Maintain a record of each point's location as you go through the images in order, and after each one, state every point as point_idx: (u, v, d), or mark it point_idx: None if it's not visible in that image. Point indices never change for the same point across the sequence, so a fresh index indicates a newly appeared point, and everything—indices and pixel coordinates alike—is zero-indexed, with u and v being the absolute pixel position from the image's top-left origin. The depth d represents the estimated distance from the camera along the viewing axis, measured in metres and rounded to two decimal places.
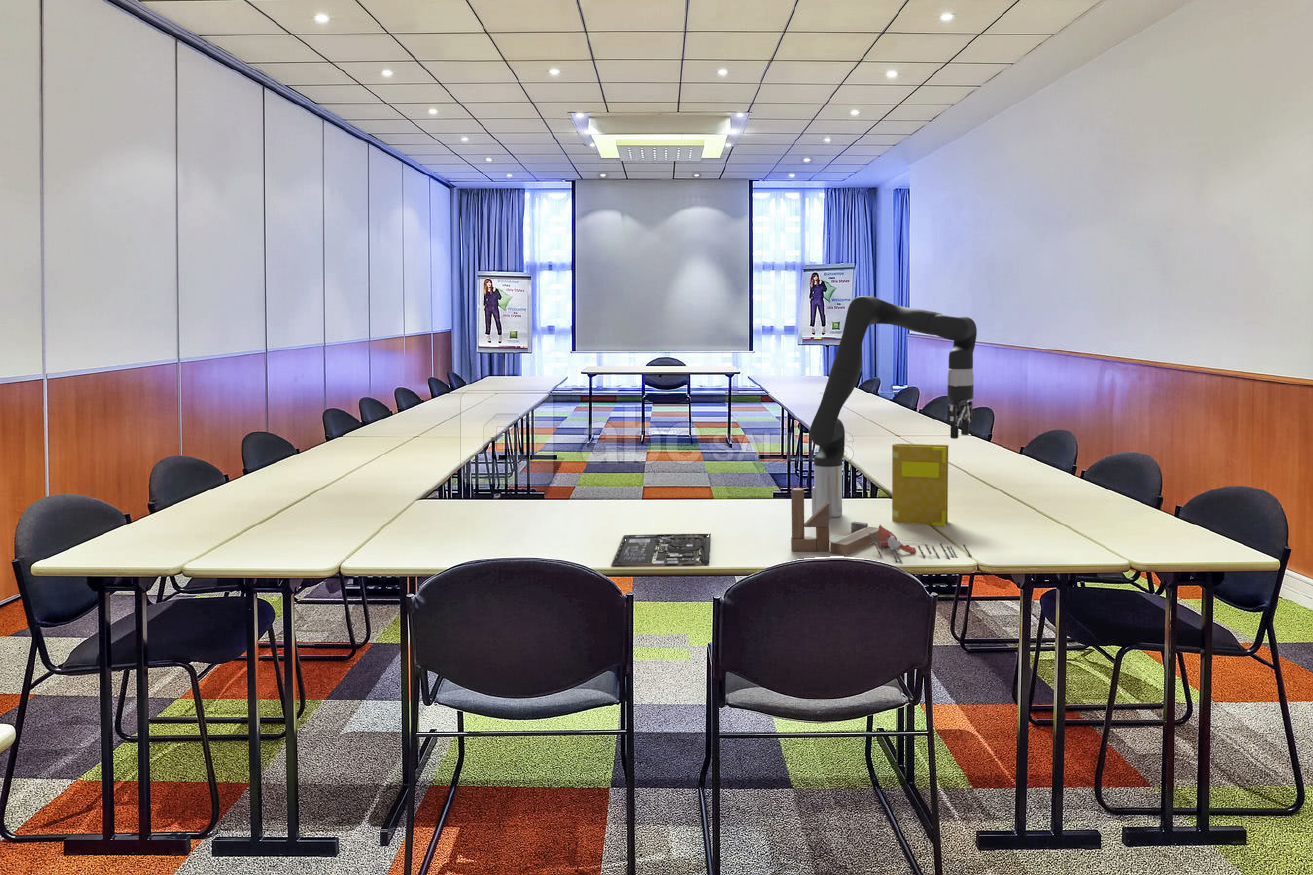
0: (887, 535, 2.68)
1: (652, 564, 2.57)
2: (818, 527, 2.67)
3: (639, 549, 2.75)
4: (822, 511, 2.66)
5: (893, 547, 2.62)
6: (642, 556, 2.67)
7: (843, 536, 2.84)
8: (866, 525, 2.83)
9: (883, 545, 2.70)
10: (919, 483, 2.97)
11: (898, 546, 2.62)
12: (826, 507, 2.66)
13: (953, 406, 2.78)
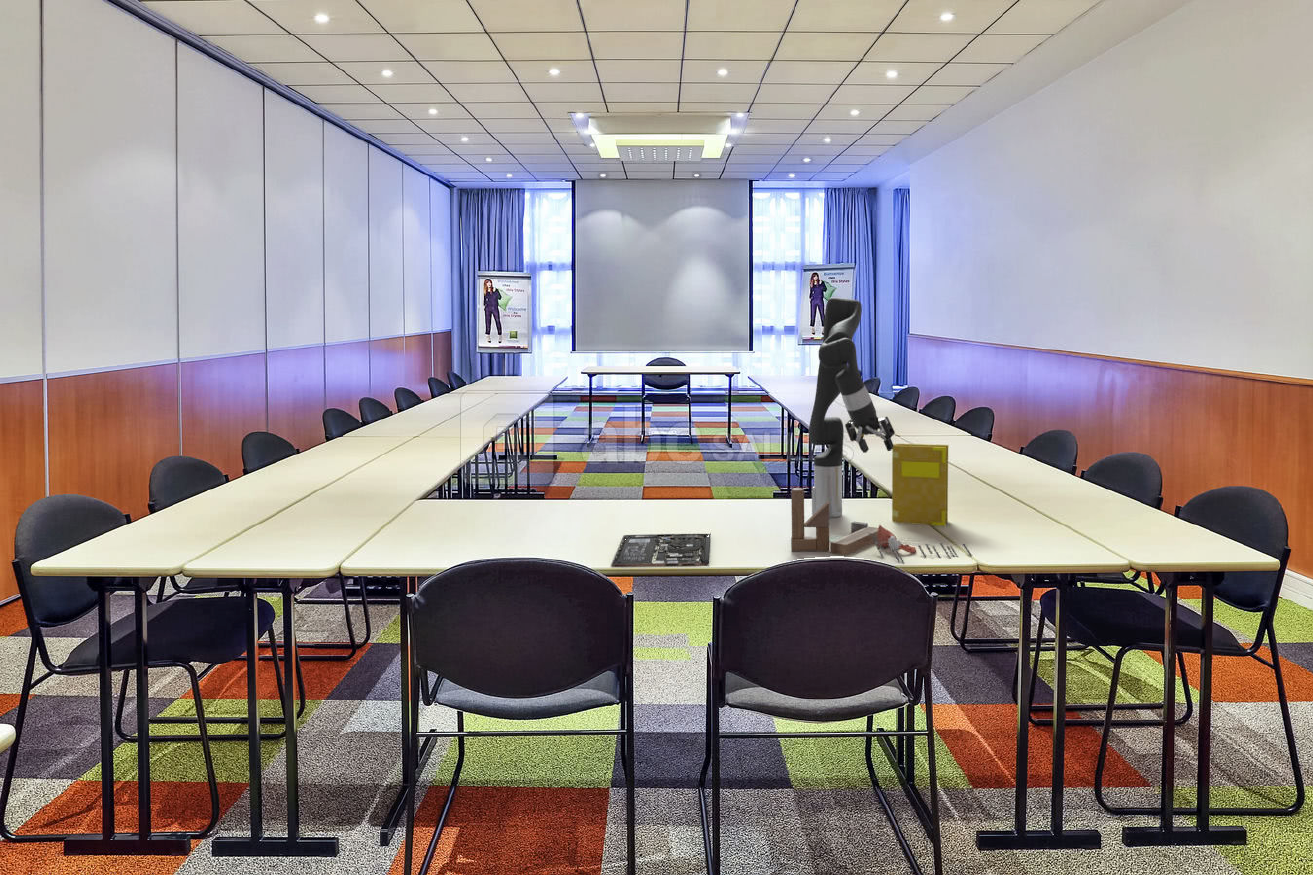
0: (887, 535, 2.68)
1: (652, 564, 2.57)
2: (818, 527, 2.67)
3: (639, 549, 2.75)
4: (822, 511, 2.66)
5: (894, 547, 2.62)
6: (642, 556, 2.67)
7: (843, 536, 2.84)
8: (866, 525, 2.83)
9: (883, 545, 2.70)
10: (919, 483, 2.97)
11: (899, 546, 2.62)
12: (826, 507, 2.66)
13: None
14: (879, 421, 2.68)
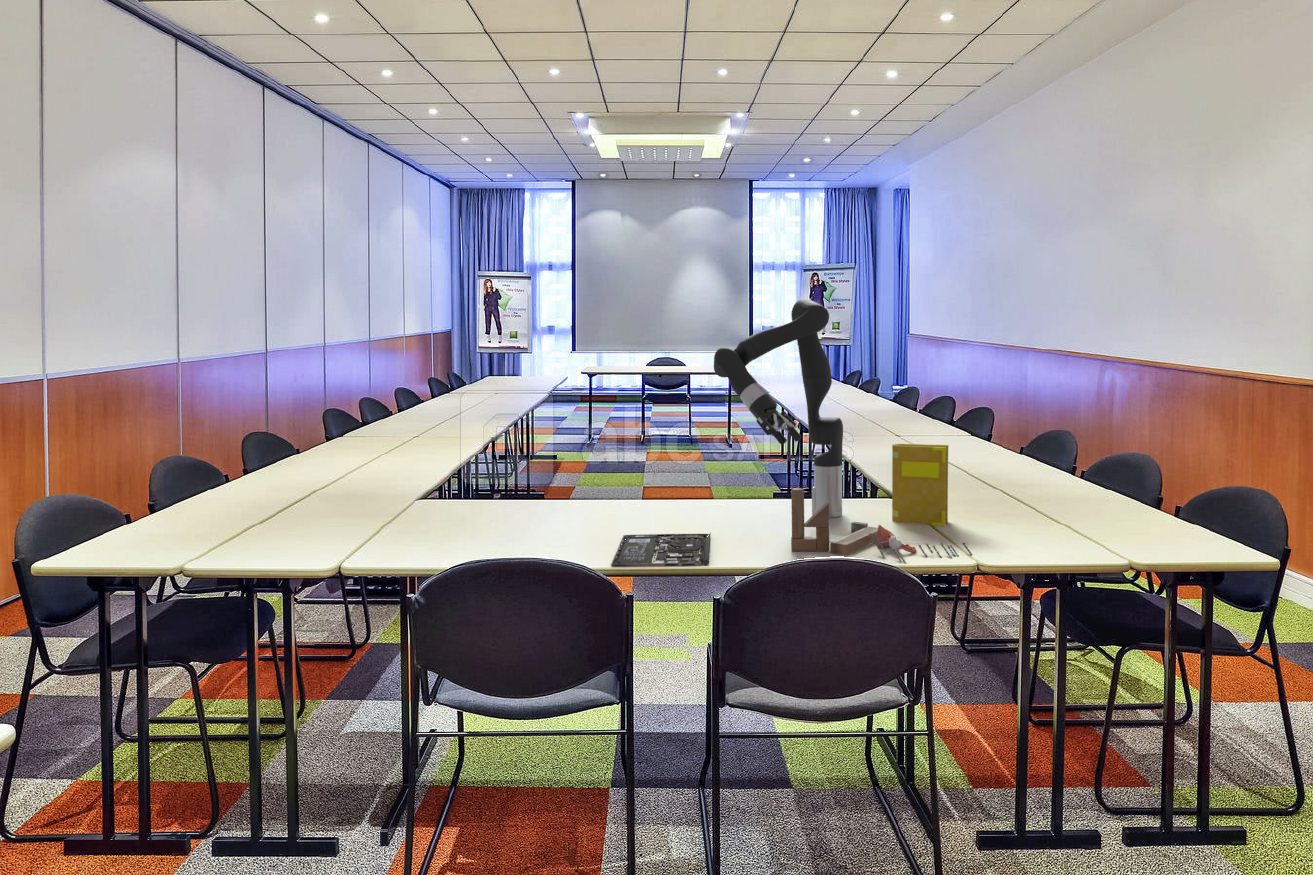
0: (887, 535, 2.68)
1: (652, 564, 2.57)
2: (818, 527, 2.67)
3: (639, 549, 2.75)
4: (822, 511, 2.66)
5: (894, 547, 2.62)
6: (642, 556, 2.67)
7: (843, 536, 2.84)
8: (866, 525, 2.83)
9: (883, 545, 2.69)
10: (919, 483, 2.97)
11: (899, 546, 2.62)
12: (826, 507, 2.66)
13: None
14: None
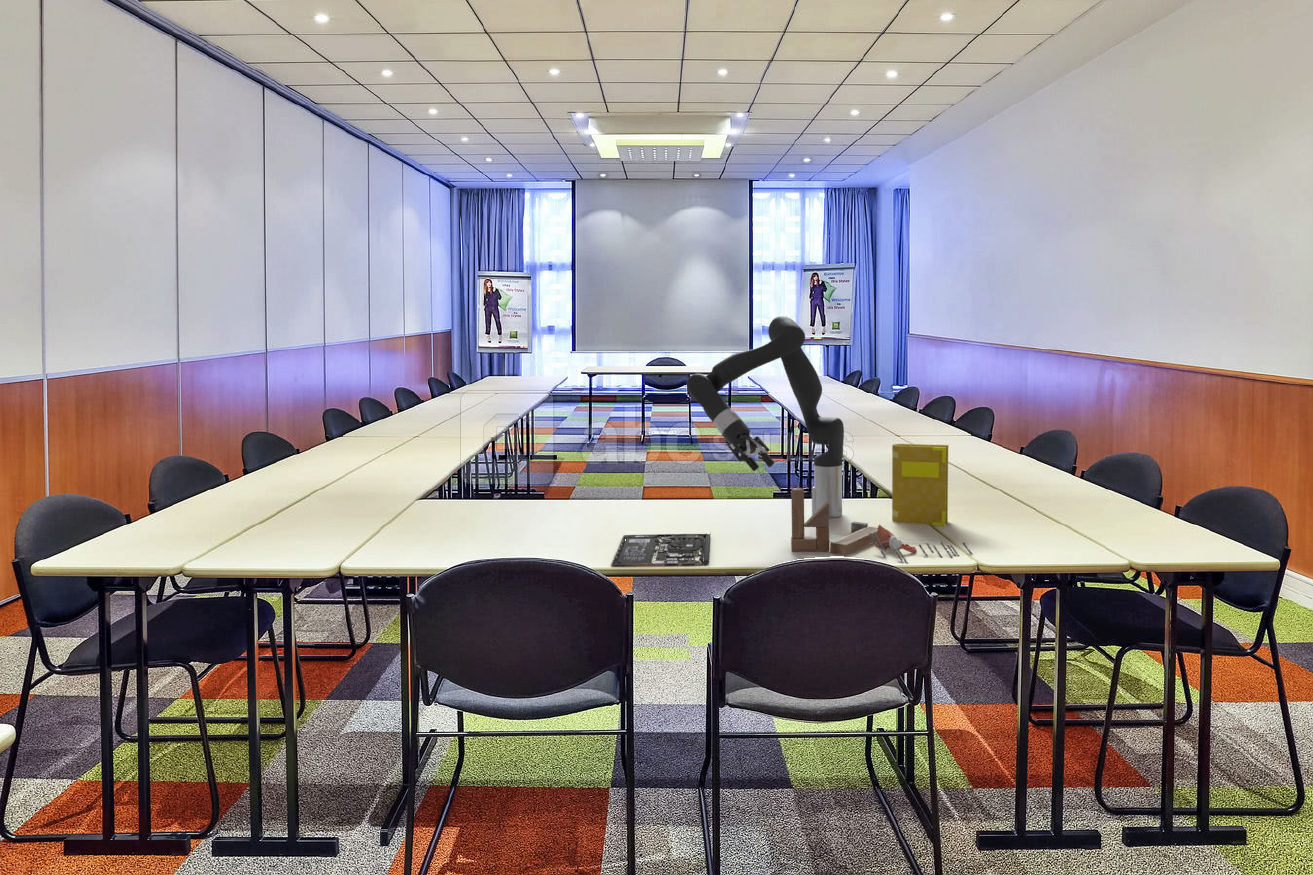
0: (887, 535, 2.68)
1: (652, 564, 2.57)
2: (818, 527, 2.67)
3: (639, 549, 2.75)
4: (822, 511, 2.66)
5: (895, 547, 2.62)
6: (642, 556, 2.67)
7: (843, 536, 2.84)
8: (866, 525, 2.83)
9: (882, 545, 2.69)
10: (919, 483, 2.97)
11: (900, 546, 2.62)
12: (826, 507, 2.66)
13: None
14: None
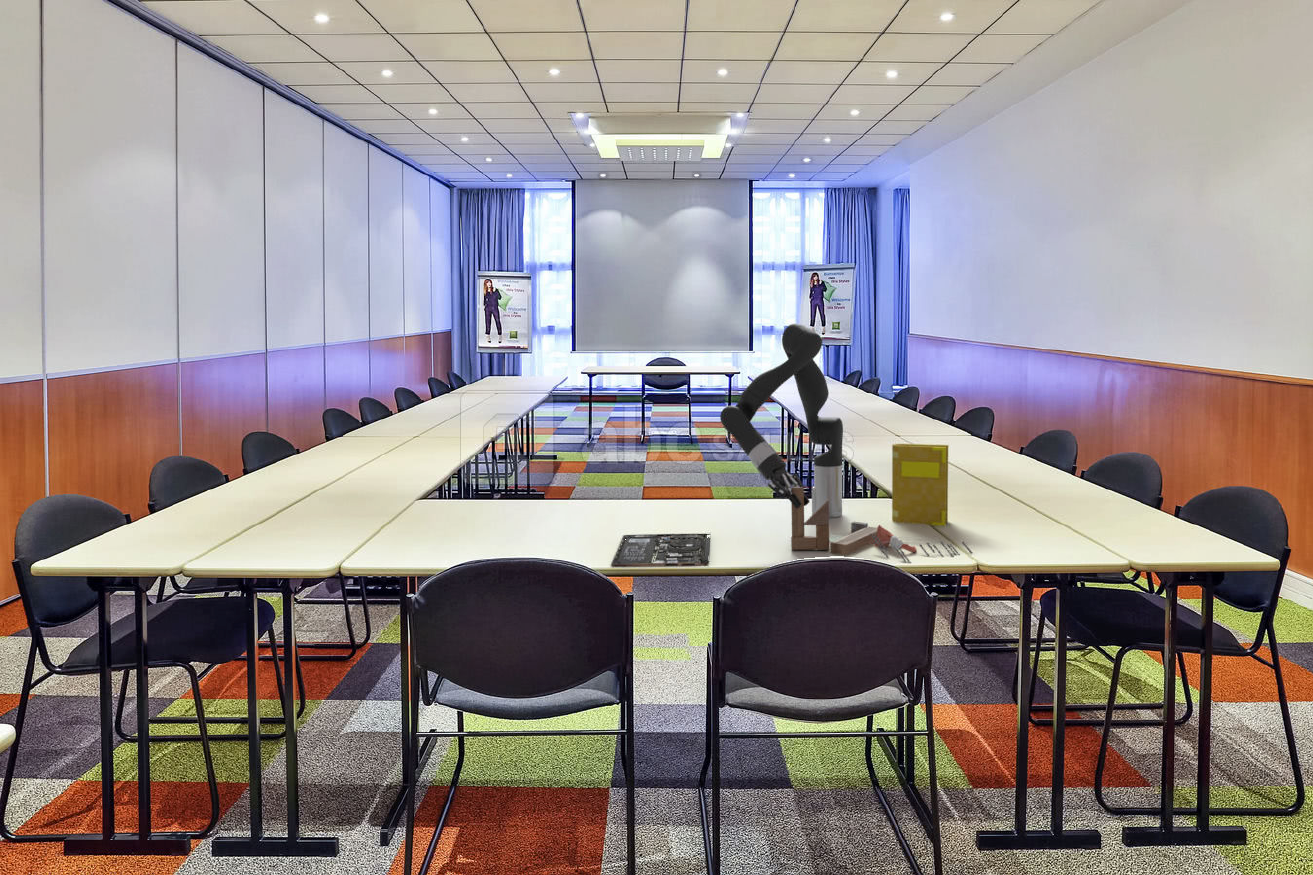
0: (887, 535, 2.68)
1: (652, 564, 2.57)
2: (818, 525, 2.68)
3: (639, 549, 2.75)
4: (822, 509, 2.67)
5: (896, 547, 2.62)
6: (642, 556, 2.67)
7: (843, 536, 2.84)
8: (866, 525, 2.83)
9: (882, 545, 2.69)
10: (919, 483, 2.97)
11: (901, 546, 2.62)
12: (826, 505, 2.67)
13: None
14: None
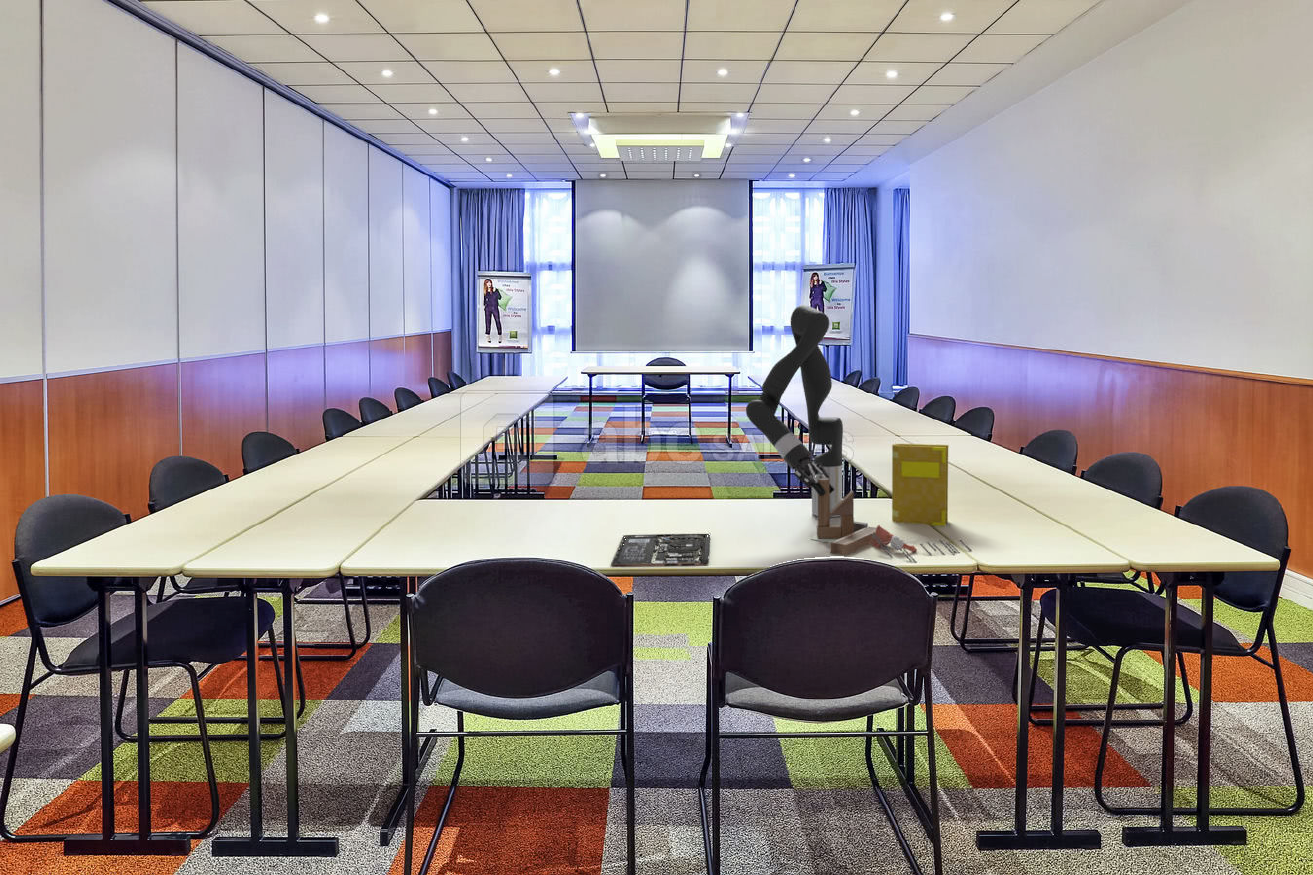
0: (886, 535, 2.68)
1: (651, 564, 2.58)
2: (843, 515, 2.80)
3: (639, 549, 2.75)
4: (847, 500, 2.79)
5: (897, 547, 2.63)
6: (641, 556, 2.67)
7: None
8: (866, 525, 2.83)
9: (881, 545, 2.69)
10: (919, 483, 2.97)
11: (902, 545, 2.63)
12: (851, 496, 2.79)
13: None
14: None
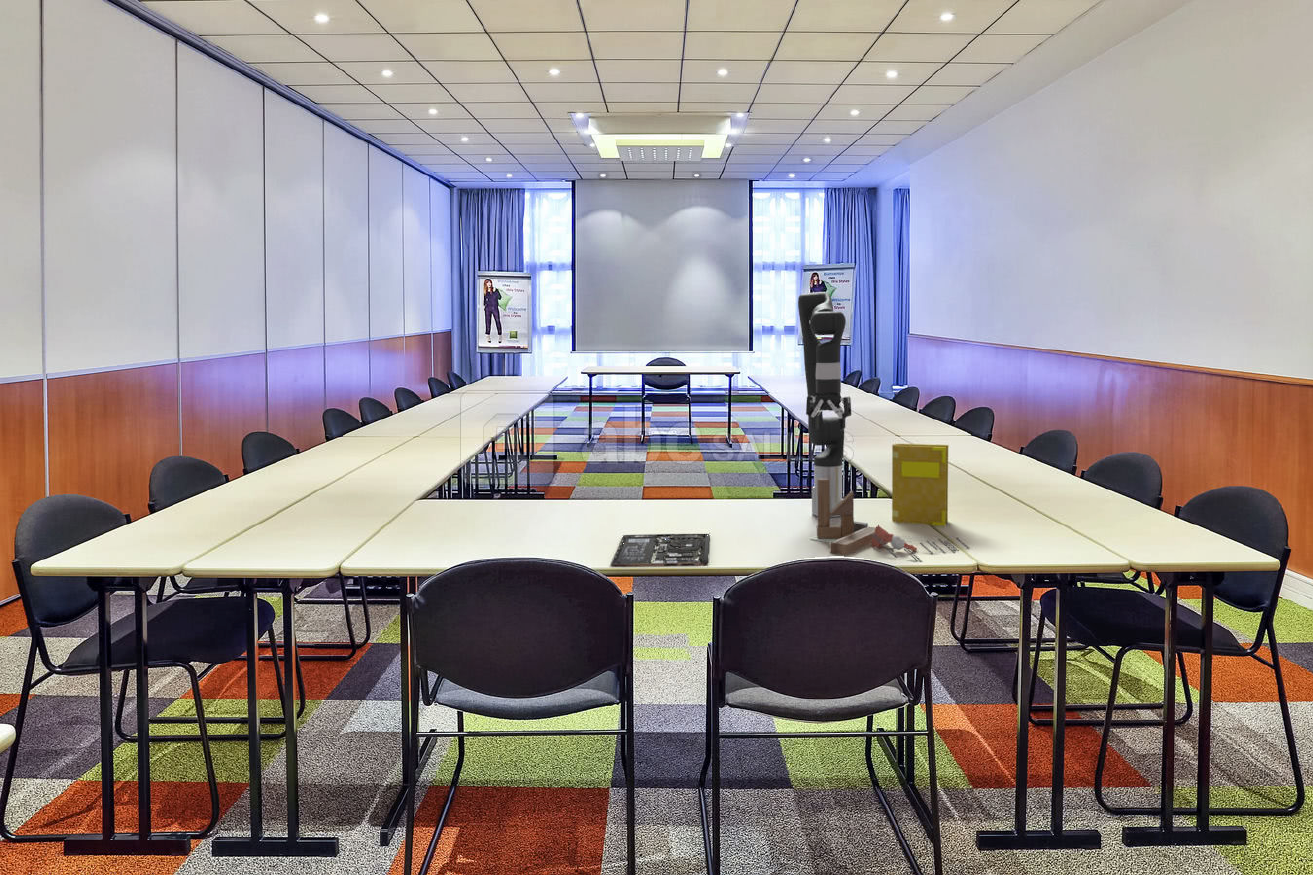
0: (886, 535, 2.68)
1: (651, 564, 2.58)
2: (843, 515, 2.80)
3: (638, 549, 2.75)
4: (847, 500, 2.79)
5: (899, 546, 2.63)
6: (641, 556, 2.67)
7: None
8: (866, 525, 2.83)
9: (880, 545, 2.69)
10: (919, 483, 2.97)
11: (903, 545, 2.63)
12: (851, 496, 2.79)
13: None
14: (841, 398, 2.83)
